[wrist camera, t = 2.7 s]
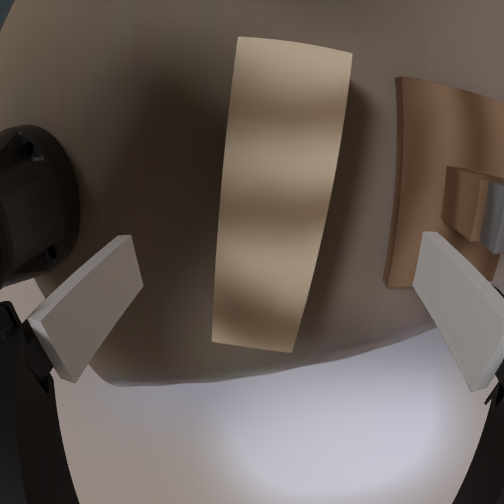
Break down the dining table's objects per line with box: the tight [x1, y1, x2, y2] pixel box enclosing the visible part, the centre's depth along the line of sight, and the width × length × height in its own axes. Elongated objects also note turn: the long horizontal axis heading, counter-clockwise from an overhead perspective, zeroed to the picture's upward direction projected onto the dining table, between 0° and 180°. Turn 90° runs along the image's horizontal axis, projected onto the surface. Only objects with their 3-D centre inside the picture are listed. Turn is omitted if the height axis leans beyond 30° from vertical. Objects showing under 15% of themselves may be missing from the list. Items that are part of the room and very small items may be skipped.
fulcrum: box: [383, 76, 504, 288], centre depth 15 cm, size 12×16×7 cm
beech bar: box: [212, 37, 352, 353], centre depth 18 cm, size 20×6×5 cm, turn 173°
